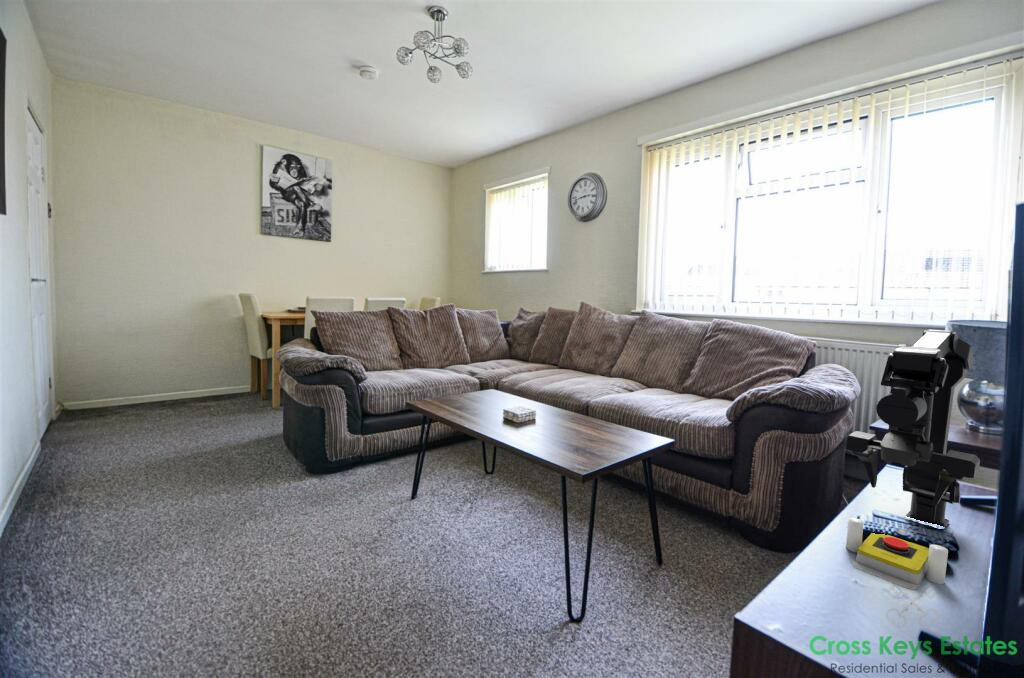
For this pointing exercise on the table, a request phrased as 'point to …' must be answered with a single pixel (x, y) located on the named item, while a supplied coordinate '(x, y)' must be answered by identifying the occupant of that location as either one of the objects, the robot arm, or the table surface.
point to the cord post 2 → (937, 564)
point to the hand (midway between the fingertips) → (903, 495)
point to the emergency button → (893, 560)
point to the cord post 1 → (854, 534)
